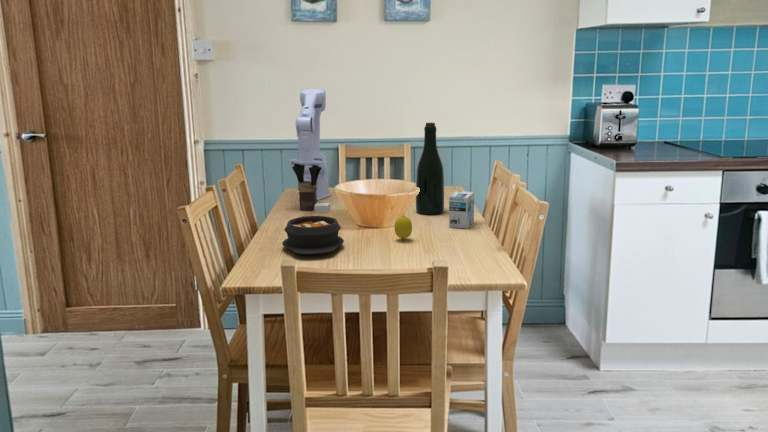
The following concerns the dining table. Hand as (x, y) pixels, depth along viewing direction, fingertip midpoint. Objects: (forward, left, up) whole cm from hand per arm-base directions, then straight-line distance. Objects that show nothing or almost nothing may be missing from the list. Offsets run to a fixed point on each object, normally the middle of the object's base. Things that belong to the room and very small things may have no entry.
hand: (307, 184), depth 247 cm
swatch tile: (-8, +1, -9) cm, 13 cm away
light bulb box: (-3, +61, -10) cm, 62 cm away
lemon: (+23, +52, -10) cm, 58 cm away
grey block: (+1, +7, -10) cm, 12 cm away
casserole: (+43, +31, -10) cm, 54 cm away
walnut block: (0, 0, -2) cm, 2 cm away
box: (0, 0, -10) cm, 10 cm away
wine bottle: (-15, +44, -10) cm, 47 cm away
